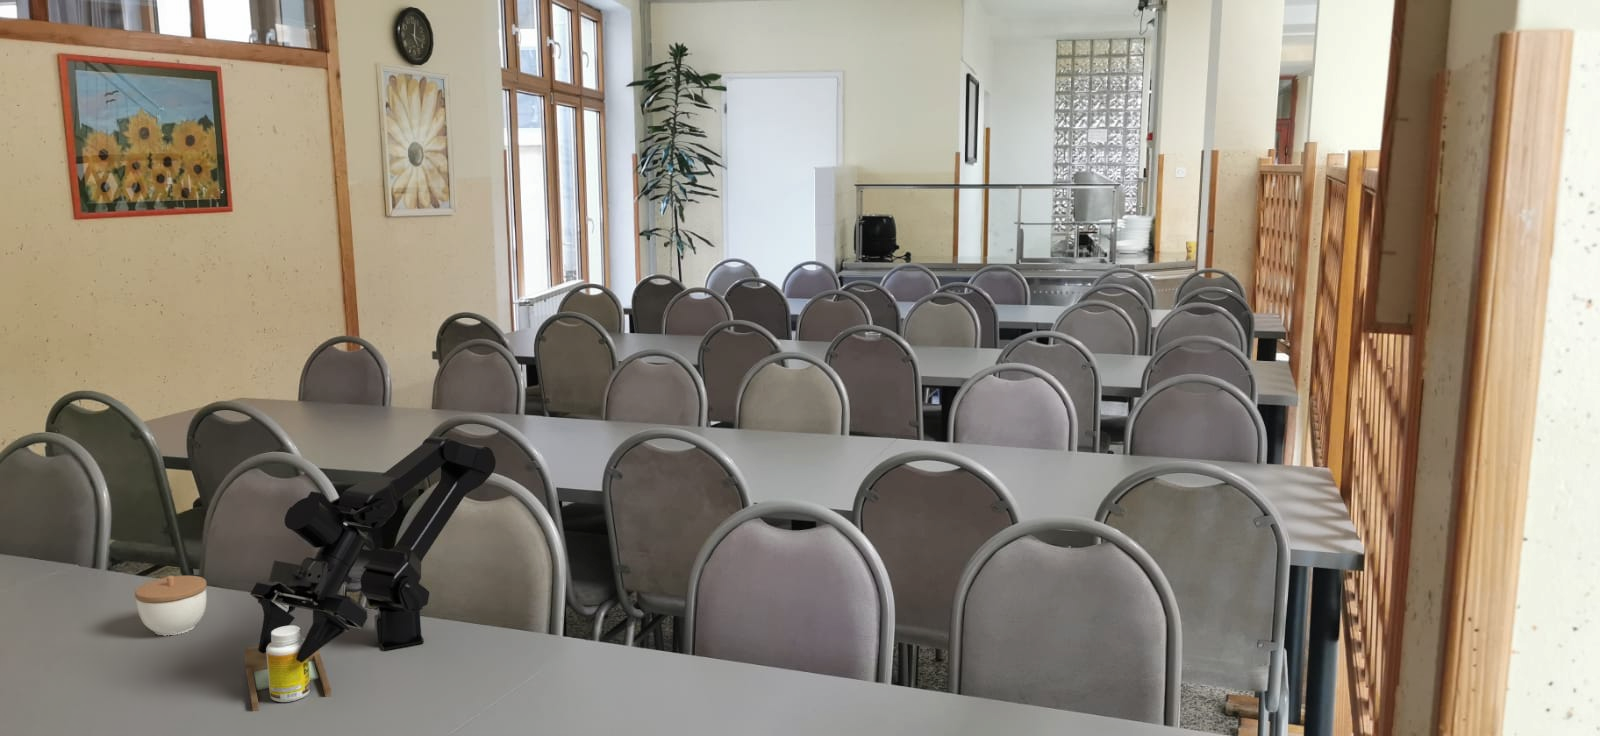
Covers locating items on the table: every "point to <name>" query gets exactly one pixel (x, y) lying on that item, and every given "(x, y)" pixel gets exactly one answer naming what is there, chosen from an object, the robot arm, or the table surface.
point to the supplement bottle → (287, 665)
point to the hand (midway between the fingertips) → (279, 656)
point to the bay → (258, 666)
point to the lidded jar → (172, 604)
